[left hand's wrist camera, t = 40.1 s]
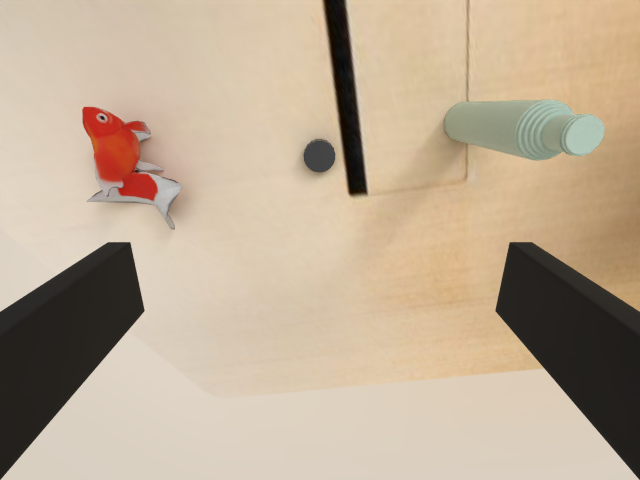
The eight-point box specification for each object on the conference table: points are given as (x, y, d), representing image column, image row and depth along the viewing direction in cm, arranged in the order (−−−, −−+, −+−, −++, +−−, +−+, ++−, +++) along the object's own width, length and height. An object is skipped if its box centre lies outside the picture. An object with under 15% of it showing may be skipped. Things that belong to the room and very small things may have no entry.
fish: (176, 92, 37) (111, 141, 31) (218, 204, 48) (177, 256, 42) (98, 86, 40) (24, 129, 34) (155, 193, 51) (107, 240, 45)
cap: (335, 169, 45) (335, 172, 43) (305, 170, 45) (304, 173, 43) (334, 138, 44) (335, 139, 41) (303, 139, 44) (302, 140, 42)
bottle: (438, 113, 42) (542, 119, 23) (474, 94, 42) (614, 85, 22) (451, 147, 44) (559, 181, 24) (486, 130, 43) (627, 151, 23)
